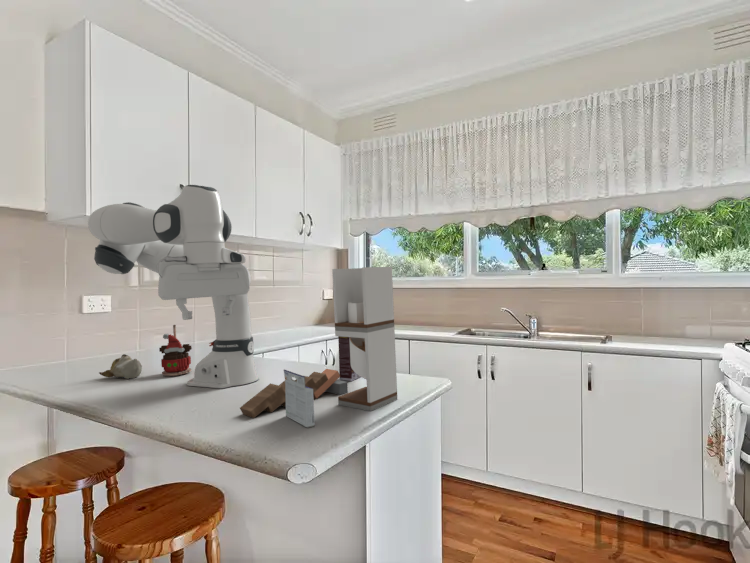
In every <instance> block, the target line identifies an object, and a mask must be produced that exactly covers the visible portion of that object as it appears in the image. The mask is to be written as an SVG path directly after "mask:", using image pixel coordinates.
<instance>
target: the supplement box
mask: <svg viewBox="0 0 750 563" xmlns="http://www.w3.org/2000/svg"><path fill="white" fill-rule="evenodd" d="M337 338H338V339H337V340H338V342H337V343H338V365H339V366H338V368H339V369H338V372H339V375H340V377H339V380H340V381H345V382H353V381H355V380H358V379H360V378H362V377H361V376H359V375H358V374H356V373H355V372H354V371H353V369H352V368H351V363H350V341H349V337H341V336H337Z"/></svg>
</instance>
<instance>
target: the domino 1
mask: <svg viewBox="0 0 750 563" xmlns="http://www.w3.org/2000/svg"><path fill="white" fill-rule="evenodd" d="M279 385H280V384H274V383H269V384H268V385H267V386H265V387H264V388H263V389H262V390H260V391H258V392H257V393H256V394H255V395H254V396H252V398H250V399H249V400H247V401H246V402H245V403H244V404H243V405H241V406H240V407H239V409H240V411H241V413H242V415H244V416H247V417H250V418H252V419H255V418H256V417H257V416H258V415H260V414H261V413H262V412H264V409H266V408H267V407H268V406H269V405H270V404H272V403H273V402H274V401H275V400H276V399H278V398H279V397H280V396H281V395H282V394H284V393H285V392H284V390H283V388H282V386H279Z"/></svg>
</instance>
